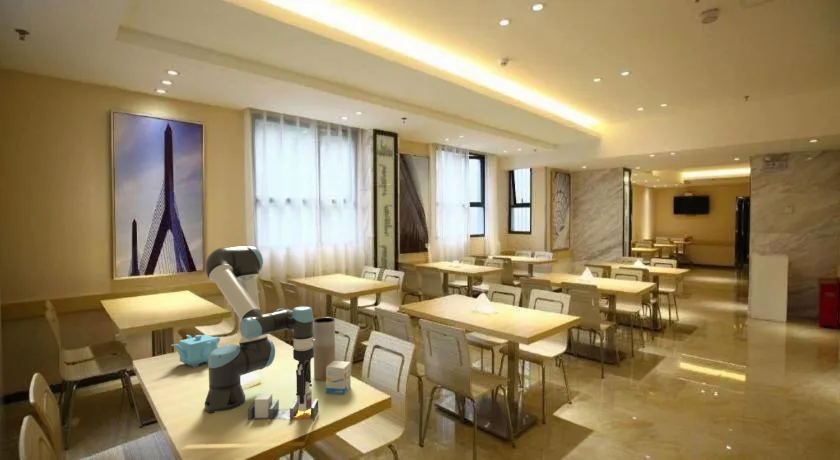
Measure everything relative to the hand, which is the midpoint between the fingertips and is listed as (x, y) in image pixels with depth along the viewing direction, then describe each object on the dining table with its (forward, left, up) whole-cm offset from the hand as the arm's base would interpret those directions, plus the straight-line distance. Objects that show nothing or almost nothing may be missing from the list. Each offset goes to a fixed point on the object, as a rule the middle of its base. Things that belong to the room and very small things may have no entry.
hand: (304, 407), depth 162 cm
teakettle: (-71, +61, -4) cm, 94 cm away
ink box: (+9, +24, -4) cm, 26 cm away
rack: (-8, 0, -3) cm, 9 cm away
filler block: (-16, 0, -2) cm, 16 cm away
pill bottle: (0, 0, 0) cm, 1 cm away
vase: (0, +39, -4) cm, 39 cm away
